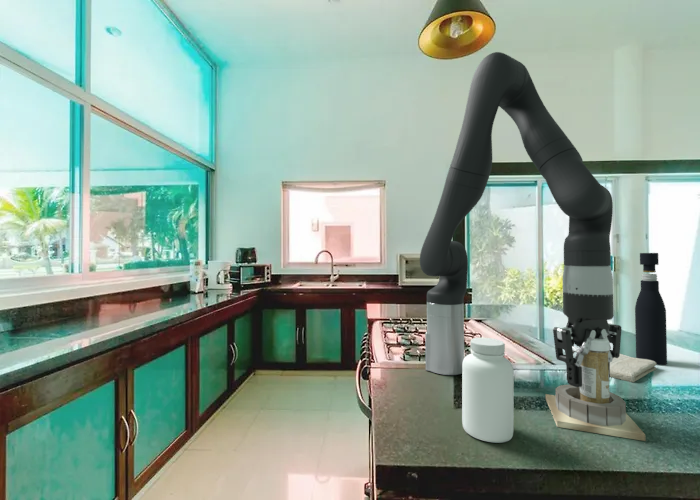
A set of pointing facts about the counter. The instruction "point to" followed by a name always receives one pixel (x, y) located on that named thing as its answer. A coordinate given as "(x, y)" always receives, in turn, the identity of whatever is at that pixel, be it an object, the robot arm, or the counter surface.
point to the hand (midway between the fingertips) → (588, 383)
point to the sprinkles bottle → (596, 373)
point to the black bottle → (650, 315)
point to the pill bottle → (488, 391)
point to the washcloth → (630, 368)
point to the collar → (592, 414)
